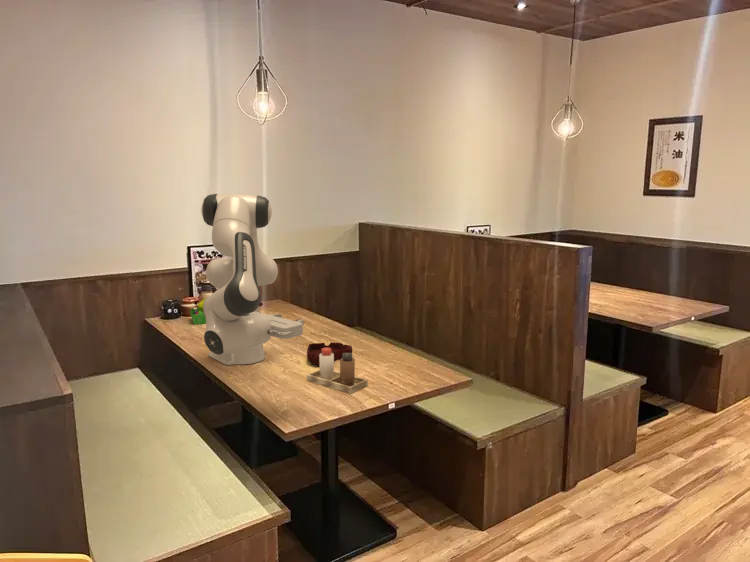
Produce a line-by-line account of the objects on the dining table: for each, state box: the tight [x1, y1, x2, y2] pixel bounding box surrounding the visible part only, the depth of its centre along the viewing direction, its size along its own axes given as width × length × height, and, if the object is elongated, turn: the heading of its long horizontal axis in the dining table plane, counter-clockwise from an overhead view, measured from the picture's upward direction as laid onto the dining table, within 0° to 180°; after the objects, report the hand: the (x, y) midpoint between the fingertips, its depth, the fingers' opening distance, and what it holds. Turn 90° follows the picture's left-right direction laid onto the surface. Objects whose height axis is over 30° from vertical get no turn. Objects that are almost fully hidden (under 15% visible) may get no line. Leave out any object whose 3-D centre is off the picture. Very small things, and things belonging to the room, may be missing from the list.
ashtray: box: [306, 342, 353, 368], centre depth 219 cm, size 18×16×5 cm
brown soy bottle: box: [339, 352, 356, 386], centre depth 189 cm, size 5×5×11 cm
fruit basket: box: [190, 297, 207, 326], centre depth 270 cm, size 11×9×11 cm
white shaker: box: [319, 347, 335, 380], centre depth 194 cm, size 5×5×11 cm
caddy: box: [306, 369, 369, 395], centre depth 192 cm, size 19×9×3 cm, turn 53°
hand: (291, 319), depth 178 cm, fingers open, 8 cm apart
